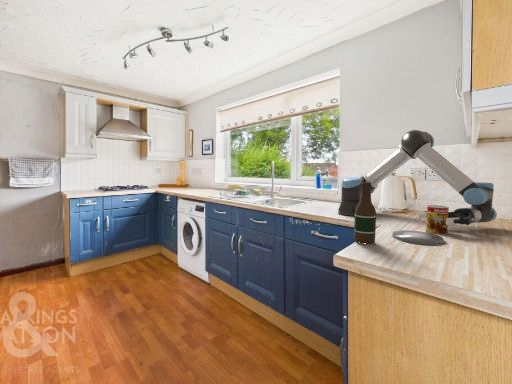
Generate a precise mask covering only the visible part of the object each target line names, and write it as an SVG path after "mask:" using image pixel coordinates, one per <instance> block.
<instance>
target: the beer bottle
mask: <svg viewBox="0 0 512 384" xmlns="http://www.w3.org/2000/svg"><path fill="white" fill-rule="evenodd" d="M361 185H362V189H361V199H360V203H359V204H358V205H357V207H356V209H355V216H354V221H353V222H354V226H353V227H354V229H353V240H354V242H355V243H356V242H360V243H366V244H371V245H373V244H372V243H374V244H375V243H376V225H377V211H376V207H375V206H374V204H373V202H372V194H371V185H372V184H371V182H362V183H361Z"/></svg>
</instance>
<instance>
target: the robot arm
mask: <svg viewBox="0 0 512 384" xmlns="http://www.w3.org/2000/svg"><path fill="white" fill-rule="evenodd" d="M434 145H435V139H434V136H433V135H431V133H429V132H427V131H422V130H419V129H412V130H410V131H407V132H406V133H404V135H402V138H401V141H400V144H399V148H398V149H397V150H396V151H395V152H393V153H392V154H391V155H390V156H389V157H387V158H386V159H385V160H384V161H382V162H381V163H380V164H379V165H378V166H376V167H375V168H374V169H373V170H371V171H370V172H369V173H364V174H363V175H361V176H360V177H359V176H358V177H357V176H354V177H353V176H351V177H344V178H343V179H342V180H341V183H340V185H341V193H340V194H341V198H340V205H339V206H338V210H337V213H339V214H338V215H341V214H342V215H341V216H346V215H349V217H355V209H356V207H357V205H358V204H359V203H360V199H361V189H362V185H361V183H362V182H371V184H372V185H371V195H372V194H373V193H374V192H375V191H376V189H377V188H379V183H381V182H382V181H384V180H385V179H386V178H388V177H389V176H390V175H392V173H394V172H396V171H397V170H398V169H400V168H401V167H402V166H403V165H405V164H406V163H407V162H409V161H410V160H415V159H419V160H420V161H421V162H422V163H423V164H425V165H426V167H428V168H429V169H431V170H432V171H433V173H435V174H436V175H437V176H438V177H439V178H441V179H442V180H443V182H445V183H446V184H448V186H450V187H451V188H452V189H453V190H454V191H456V192H457V193H458V194H459V195H460V196H461V197H462V199H463V201H464V202H465V203H466V204H468V205H471V207H462V208H461V207H460V208H457V209H454V211H448V218H446V225H448V226H450V225H466V226H469V225H472V224H479V223H489V222H493V221H494V220H495V219H496V218H497V216H498V214H497V211H496V209H495V208H493V198H494V191H495V189H494V186H495V185H494V183H493V182H480V181H479V182H475V181H474V180H472V179H471V178H470V177H469V176H468V175H466V174H465V173H464V172H463V171H461V169H459V168H458V167H456V166H455V165H454V164H453V163H451V161H450V160H448V159H447V158H446V157H444V156H443V155H442V154H440V153H439V151H437V150H436V149H434ZM417 219H421V220H422V219H427V210H425V211H424V212H417Z"/></svg>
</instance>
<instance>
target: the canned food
mask: <svg viewBox="0 0 512 384" xmlns="http://www.w3.org/2000/svg"><path fill="white" fill-rule="evenodd" d="M449 208H450V207H449V206H445V205H439V204H437V205H436V204H428V205H427V207H426V211H427V218H426V223H425V224H426V225H425V231H426V233H431V234H435V235H447V234H448V226H449V225H446V218H448V212H450V211H449Z"/></svg>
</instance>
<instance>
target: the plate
mask: <svg viewBox="0 0 512 384" xmlns="http://www.w3.org/2000/svg"><path fill="white" fill-rule="evenodd" d="M392 238H393V239H395V238H396V240H397V239H398V240H399V241H400V240H401V242H404V243H409V244H413V243H414V244H415V245H422V246H423V245H424V246H435V245H434V244H439V245H442V243H443V244H444V242H445V240H444V239H445V238H444V237H442V236H441V235H439V234H433V233H429V232H425V231H419V230H406V229H405V230H402V229H401V230H395V231H393V232H392Z"/></svg>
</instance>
